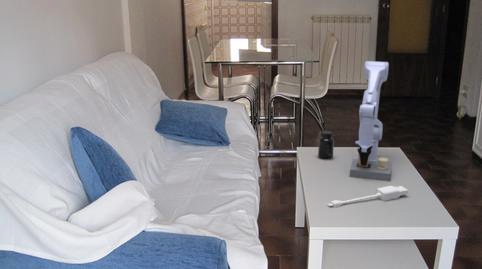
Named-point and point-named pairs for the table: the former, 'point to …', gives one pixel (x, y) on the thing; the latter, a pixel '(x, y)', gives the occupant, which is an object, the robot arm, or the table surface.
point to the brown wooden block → (363, 165)
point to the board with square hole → (372, 169)
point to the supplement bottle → (326, 145)
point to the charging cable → (377, 195)
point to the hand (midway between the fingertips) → (363, 163)
